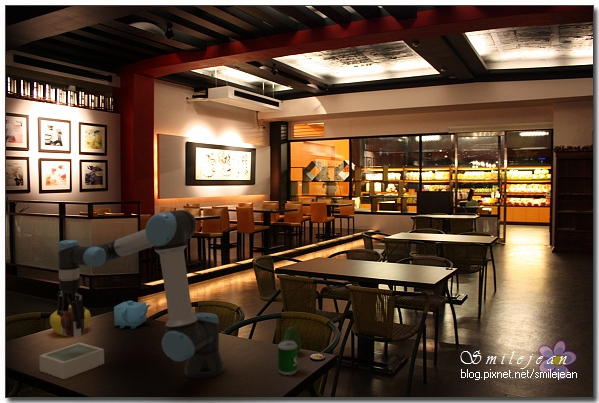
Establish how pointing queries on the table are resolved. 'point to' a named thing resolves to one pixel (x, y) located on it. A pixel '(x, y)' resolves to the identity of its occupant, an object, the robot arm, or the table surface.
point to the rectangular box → (71, 360)
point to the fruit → (293, 337)
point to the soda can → (287, 357)
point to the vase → (56, 321)
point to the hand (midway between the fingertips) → (71, 334)
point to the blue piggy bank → (130, 314)
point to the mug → (70, 322)
